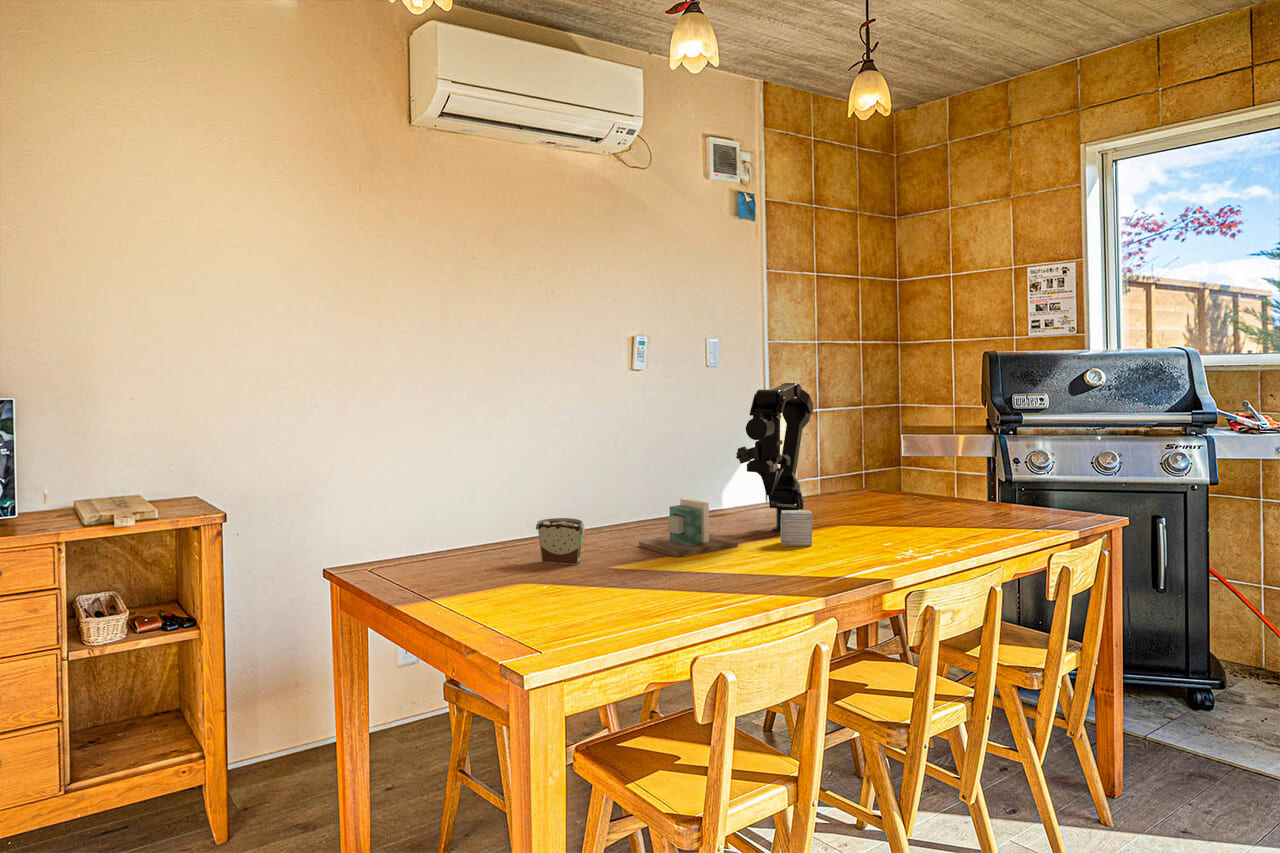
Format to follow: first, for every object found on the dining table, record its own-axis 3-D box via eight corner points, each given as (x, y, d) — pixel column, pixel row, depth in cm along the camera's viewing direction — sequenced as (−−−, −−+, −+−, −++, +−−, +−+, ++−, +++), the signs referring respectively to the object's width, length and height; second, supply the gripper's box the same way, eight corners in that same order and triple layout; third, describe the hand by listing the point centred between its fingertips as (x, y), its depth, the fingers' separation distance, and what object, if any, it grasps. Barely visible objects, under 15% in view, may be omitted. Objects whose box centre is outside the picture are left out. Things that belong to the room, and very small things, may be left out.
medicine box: (810, 542, 224) (810, 510, 223) (812, 546, 219) (812, 513, 219) (780, 542, 224) (780, 509, 224) (781, 546, 220) (781, 513, 219)
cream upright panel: (684, 535, 226) (684, 498, 225) (708, 541, 218) (708, 502, 217) (661, 539, 222) (660, 501, 221) (684, 545, 214) (684, 506, 213)
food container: (593, 559, 207) (592, 519, 206) (583, 565, 201) (582, 523, 200) (547, 556, 211) (546, 516, 210) (536, 562, 205) (535, 521, 205)
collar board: (699, 536, 233) (699, 499, 232) (738, 546, 220) (738, 507, 219) (639, 546, 222) (638, 507, 221) (676, 557, 209) (675, 516, 208)
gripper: (752, 433, 237) (752, 488, 238) (727, 439, 221) (727, 498, 222) (791, 434, 232) (791, 491, 233) (768, 440, 215) (768, 501, 217)
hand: (769, 495), depth 226 cm, fingers closed
